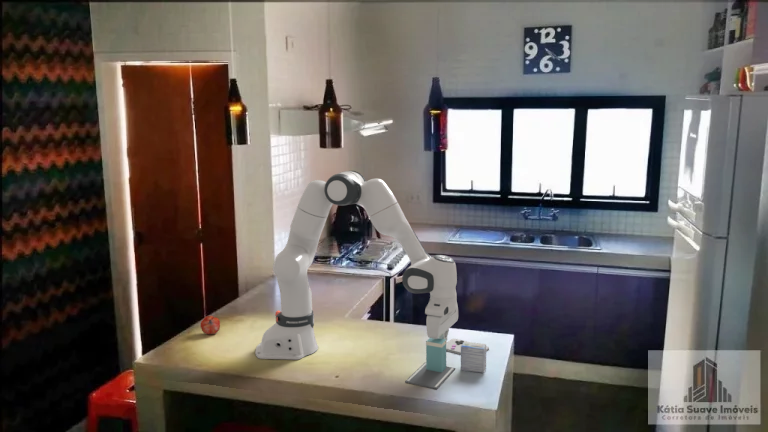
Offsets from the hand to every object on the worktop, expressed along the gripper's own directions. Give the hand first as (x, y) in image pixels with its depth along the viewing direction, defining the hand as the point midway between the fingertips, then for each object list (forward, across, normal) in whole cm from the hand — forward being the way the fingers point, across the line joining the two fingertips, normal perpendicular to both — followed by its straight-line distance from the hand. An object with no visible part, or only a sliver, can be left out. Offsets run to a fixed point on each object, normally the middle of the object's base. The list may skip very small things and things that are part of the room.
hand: (443, 341), depth 208 cm
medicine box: (+8, +1, +11) cm, 13 cm away
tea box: (+7, +6, 0) cm, 10 cm away
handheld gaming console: (+8, -14, +3) cm, 17 cm away
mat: (+8, +11, 0) cm, 14 cm away
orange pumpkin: (+8, +13, -93) cm, 94 cm away
